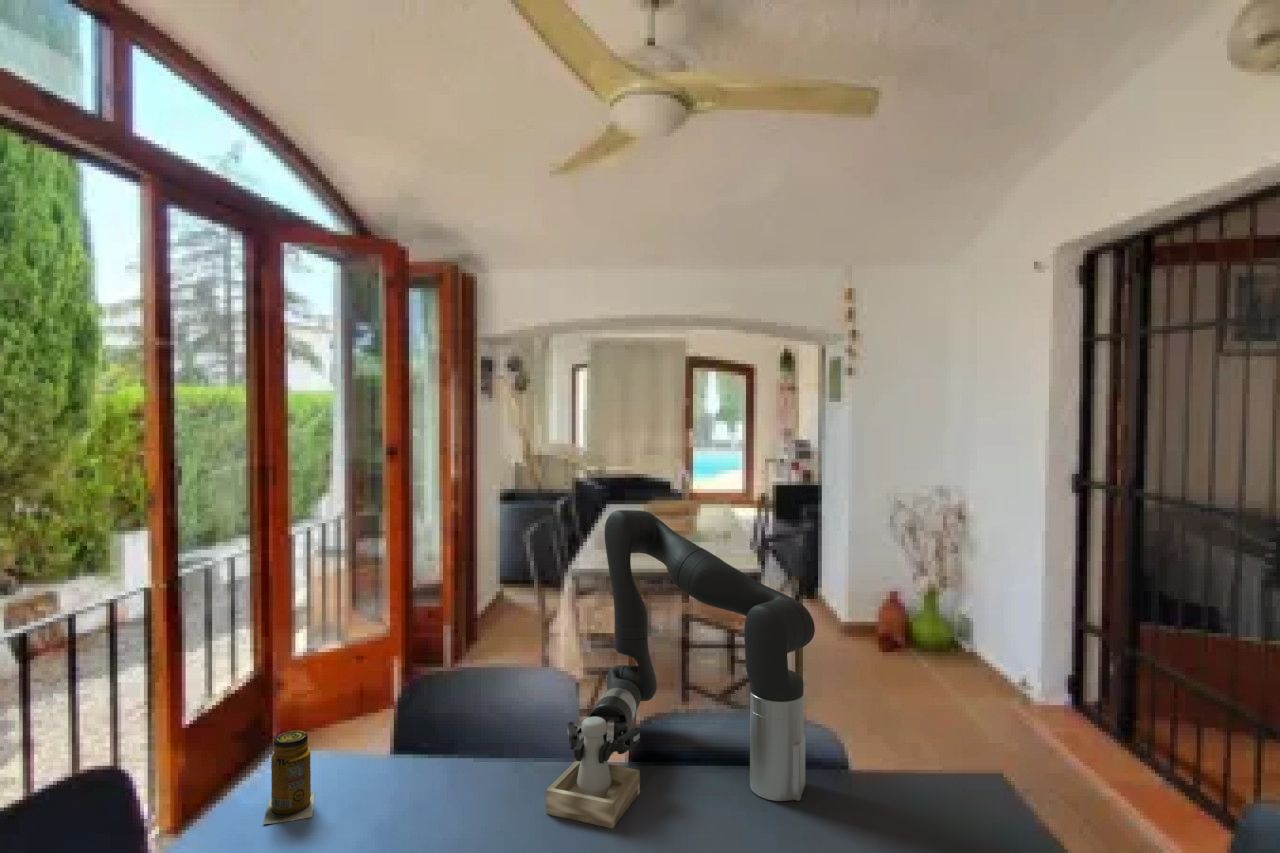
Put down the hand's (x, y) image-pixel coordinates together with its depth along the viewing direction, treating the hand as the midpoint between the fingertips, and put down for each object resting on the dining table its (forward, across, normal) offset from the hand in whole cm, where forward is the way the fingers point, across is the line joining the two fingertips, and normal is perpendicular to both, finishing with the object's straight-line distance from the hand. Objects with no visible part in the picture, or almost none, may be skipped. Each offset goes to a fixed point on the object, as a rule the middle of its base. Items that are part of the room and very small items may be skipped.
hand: (589, 756), depth 126 cm
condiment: (+9, -50, +10) cm, 51 cm away
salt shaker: (-3, 0, +8) cm, 9 cm away
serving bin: (-3, 0, +9) cm, 10 cm away
